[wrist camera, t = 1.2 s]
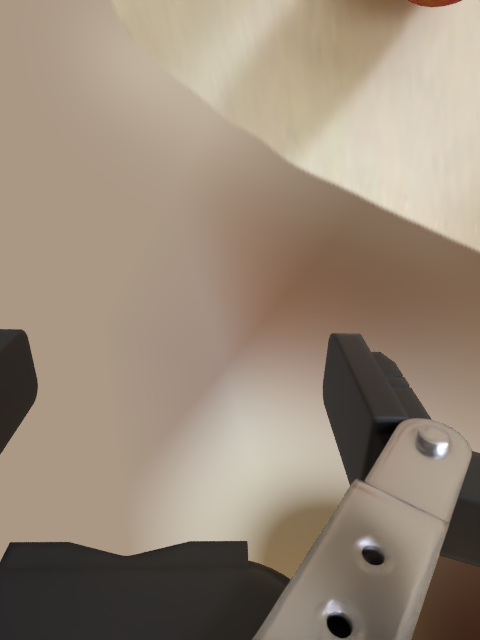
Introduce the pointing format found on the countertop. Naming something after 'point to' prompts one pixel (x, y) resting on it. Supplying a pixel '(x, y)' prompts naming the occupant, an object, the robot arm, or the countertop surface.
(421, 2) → the fruit
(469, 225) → the countertop surface
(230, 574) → the robot arm
